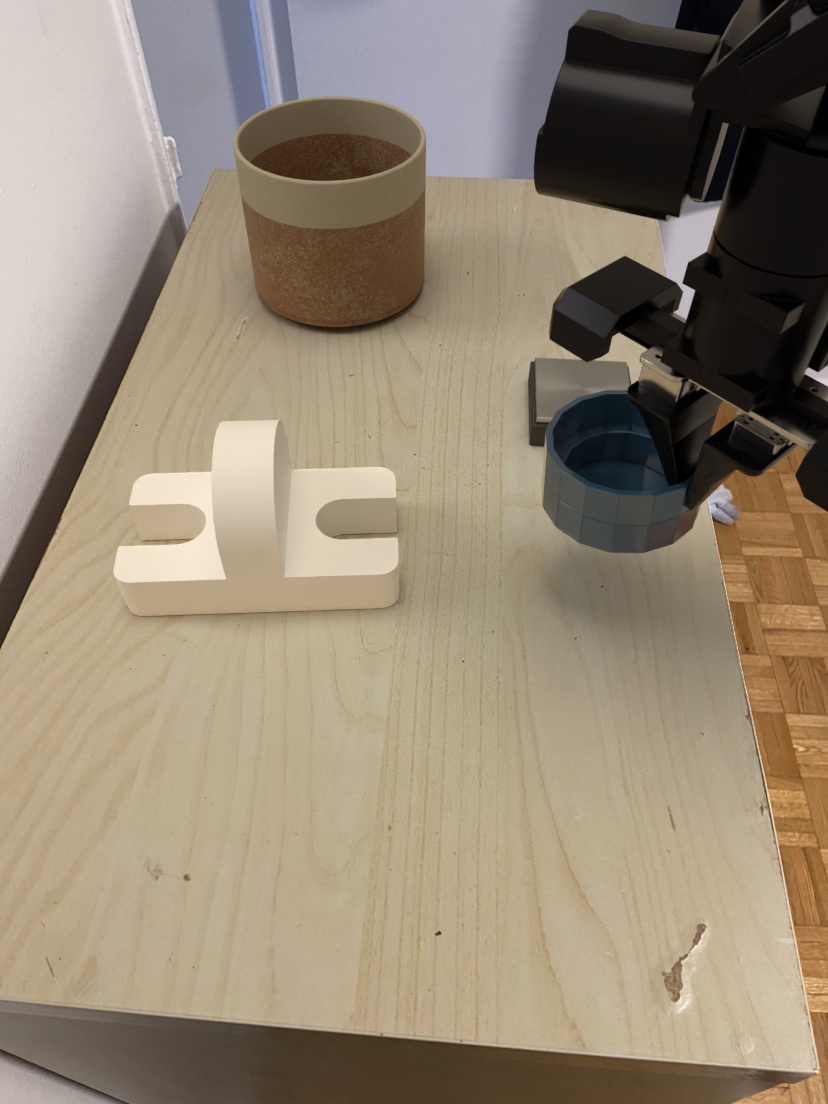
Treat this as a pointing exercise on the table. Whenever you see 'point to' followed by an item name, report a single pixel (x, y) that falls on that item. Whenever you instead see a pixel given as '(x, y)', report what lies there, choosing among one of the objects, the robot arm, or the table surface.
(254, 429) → the slotted base with upright
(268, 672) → the table surface
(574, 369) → the scale
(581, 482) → the bowl
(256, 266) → the planter
